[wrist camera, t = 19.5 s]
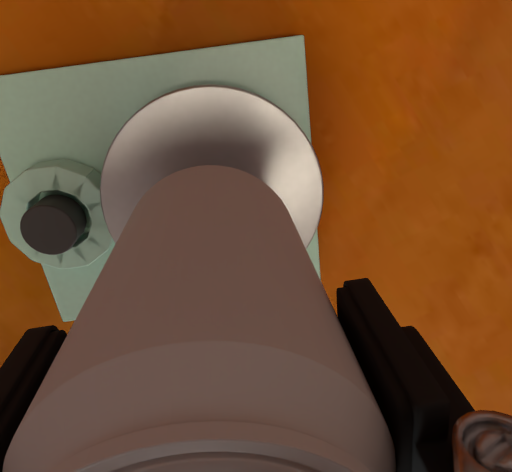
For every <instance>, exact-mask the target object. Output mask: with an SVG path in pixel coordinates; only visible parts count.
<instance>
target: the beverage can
mask: <svg viewBox="0 0 512 472" xmlns="http://www.w3.org/2000/svg"><path fill="white" fill-rule="evenodd" d="M2 472H396V457H395V448H394V443H393V440H392V437H391V434H390V431H389V428H388V426H387V423H386V421H385V419H384V417H383V415H382V412H381V410H380V408H379V406H378V404H377V402H376V399H375V397H374V395H373V393H372V391H371V389H370V387H369V384H368V382H367V380H366V378H365V376H364V374H363V371H362V369H361V367H360V365H359V363H358V361H357V358H356V356H355V354H354V352H353V350H352V348H351V345H350V343H349V341H348V339H347V337H346V335H345V332H344V330H343V328H342V326H341V324H340V322H339V319H338V317H337V315H336V313H335V311H334V309H333V306H332V304H331V302H330V300H329V298H328V296H327V294H326V291H325V289H324V287H323V285H322V283H321V281H320V278H319V276H318V274H317V272H316V270H315V268H314V265H313V263H312V261H311V259H310V257H309V255H308V252H307V250H306V248H305V246H304V244H303V242H302V239H301V237H300V235H299V233H298V231H297V229H296V226H295V224H294V222H293V220H292V218H291V216H290V213H289V211H288V209H287V208H286V206H285V204H284V203H283V201H282V200H281V198H280V197H279V196H278V195H277V194H276V193H275V192H274V191H273V189H271V188H270V187H269V186H268V185H267V184H265V183H264V182H263V181H261V180H260V179H258V178H256V177H255V176H253V175H251V174H249V173H247V172H244V171H241V170H239V169H235V168H231V167H226V166H218V165H204V166H195V167H190V168H186V169H183V170H180V171H177V172H175V173H173V174H170V175H168V176H167V177H165V178H163V179H162V180H160V181H159V182H157V183H156V184H155V185H154V186H152V187H151V188H150V189H149V190H148V191H147V192H146V193H145V194H144V195H143V197H142V198H141V199H140V201H139V202H138V203H137V205H136V207H135V209H134V210H133V212H132V214H131V216H130V218H129V220H128V222H127V224H126V226H125V227H124V229H123V231H122V233H121V235H120V237H119V239H118V241H117V242H116V244H115V246H114V248H113V250H112V252H111V254H110V256H109V258H108V259H107V261H106V263H105V265H104V267H103V269H102V271H101V273H100V274H99V276H98V278H97V280H96V282H95V284H94V286H93V288H92V290H91V291H90V293H89V295H88V297H87V299H86V301H85V303H84V305H83V306H82V308H81V310H80V312H79V314H78V316H77V318H76V320H75V322H74V323H73V325H72V327H71V329H70V331H69V333H68V335H67V337H66V338H65V340H64V342H63V344H62V346H61V348H60V350H59V352H58V354H57V355H56V357H55V359H54V361H53V363H52V365H51V367H50V369H49V370H48V372H47V374H46V376H45V378H44V380H43V382H42V384H41V386H40V387H39V389H38V391H37V393H36V395H35V397H34V399H33V401H32V402H31V404H30V406H29V408H28V410H27V412H26V414H25V416H24V418H23V419H22V421H21V423H20V425H19V427H18V429H17V431H16V433H15V435H14V437H13V439H12V441H11V443H10V446H9V448H8V450H7V453H6V456H5V459H4V464H3V470H2Z"/></svg>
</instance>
